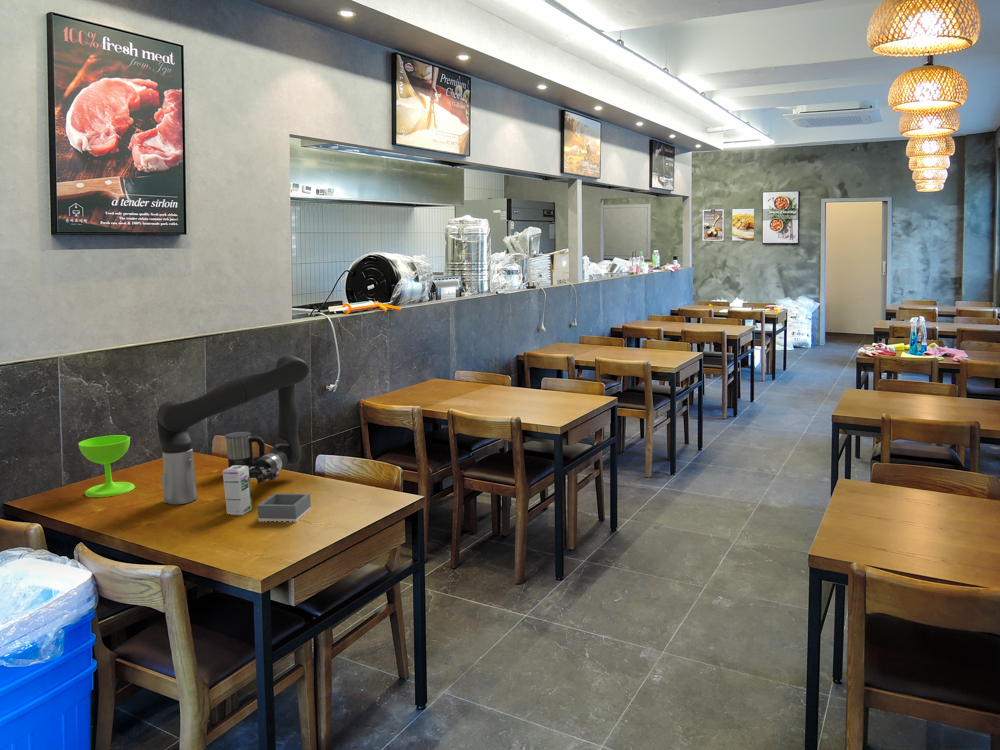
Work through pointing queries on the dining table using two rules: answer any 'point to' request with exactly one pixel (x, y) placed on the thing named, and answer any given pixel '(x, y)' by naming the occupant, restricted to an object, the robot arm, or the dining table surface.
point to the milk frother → (243, 448)
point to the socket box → (284, 507)
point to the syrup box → (237, 490)
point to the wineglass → (106, 462)
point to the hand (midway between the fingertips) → (245, 480)
